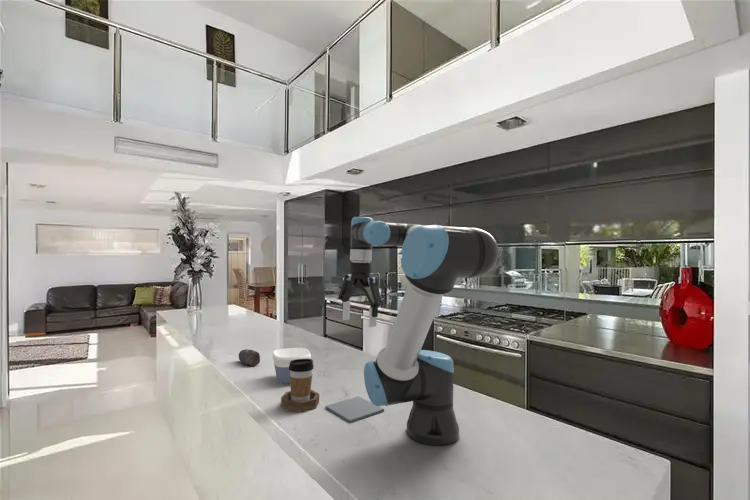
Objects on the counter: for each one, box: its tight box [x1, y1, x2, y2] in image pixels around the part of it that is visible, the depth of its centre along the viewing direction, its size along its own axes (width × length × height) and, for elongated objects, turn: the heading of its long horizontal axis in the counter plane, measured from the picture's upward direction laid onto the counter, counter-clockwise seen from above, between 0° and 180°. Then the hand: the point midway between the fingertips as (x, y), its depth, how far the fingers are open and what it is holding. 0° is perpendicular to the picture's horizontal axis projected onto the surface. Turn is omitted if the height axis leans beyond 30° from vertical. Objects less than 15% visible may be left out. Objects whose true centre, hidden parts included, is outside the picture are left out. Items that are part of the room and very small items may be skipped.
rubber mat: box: [324, 396, 385, 424], centre depth 121 cm, size 14×14×1 cm
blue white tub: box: [272, 347, 312, 385], centre depth 151 cm, size 15×15×11 cm
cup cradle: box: [280, 389, 320, 413], centre depth 125 cm, size 12×12×3 cm
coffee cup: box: [289, 358, 314, 402], centre depth 125 cm, size 8×8×15 cm
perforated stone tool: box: [238, 348, 261, 367], centre depth 172 cm, size 15×5×7 cm, turn 48°
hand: (358, 323), depth 126 cm, fingers open, 13 cm apart
